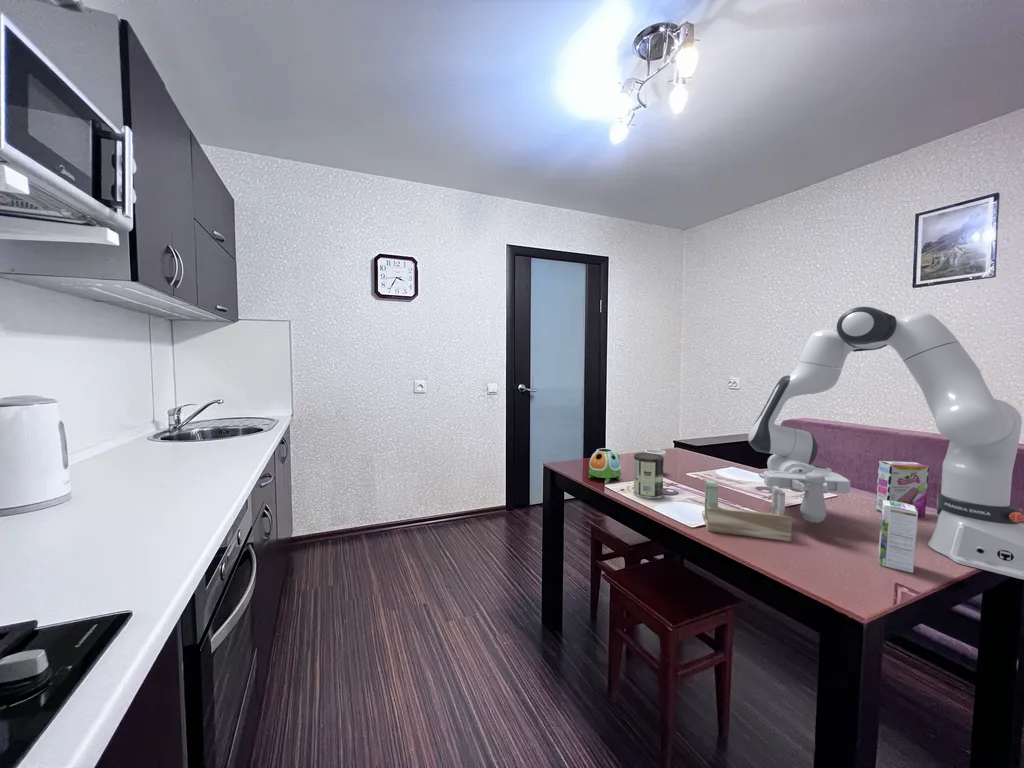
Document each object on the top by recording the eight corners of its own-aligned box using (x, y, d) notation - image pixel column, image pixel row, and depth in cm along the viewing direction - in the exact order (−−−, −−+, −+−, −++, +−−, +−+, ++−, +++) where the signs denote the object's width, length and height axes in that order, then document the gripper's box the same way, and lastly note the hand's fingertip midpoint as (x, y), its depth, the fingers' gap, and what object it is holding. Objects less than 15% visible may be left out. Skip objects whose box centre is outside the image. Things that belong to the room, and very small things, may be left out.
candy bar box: (887, 516, 122) (890, 464, 121) (874, 510, 127) (877, 460, 126) (927, 517, 121) (930, 465, 120) (912, 511, 126) (915, 461, 125)
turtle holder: (631, 475, 165) (631, 448, 164) (609, 485, 152) (609, 455, 151) (605, 470, 174) (605, 443, 173) (582, 478, 161) (582, 450, 160)
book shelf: (701, 515, 122) (703, 476, 121) (776, 523, 116) (777, 482, 115) (708, 530, 110) (709, 487, 110) (790, 541, 104) (792, 495, 104)
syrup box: (877, 556, 96) (880, 498, 95) (911, 564, 92) (915, 504, 92) (879, 565, 92) (882, 505, 91) (915, 574, 88) (918, 511, 87)
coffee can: (655, 489, 147) (656, 452, 146) (668, 498, 137) (669, 459, 136) (629, 489, 147) (629, 452, 146) (639, 499, 136) (640, 459, 136)
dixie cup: (662, 471, 171) (663, 449, 171) (667, 477, 163) (667, 453, 163) (642, 470, 173) (643, 448, 172) (646, 476, 164) (647, 452, 164)
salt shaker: (797, 519, 108) (799, 473, 107) (802, 513, 112) (804, 468, 110) (824, 526, 104) (826, 478, 102) (827, 519, 107) (830, 473, 106)
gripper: (757, 463, 122) (771, 475, 109) (836, 468, 116) (861, 481, 103) (757, 483, 123) (771, 497, 109) (835, 489, 116) (860, 504, 103)
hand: (815, 489), depth 106 cm, fingers open, 3 cm apart
